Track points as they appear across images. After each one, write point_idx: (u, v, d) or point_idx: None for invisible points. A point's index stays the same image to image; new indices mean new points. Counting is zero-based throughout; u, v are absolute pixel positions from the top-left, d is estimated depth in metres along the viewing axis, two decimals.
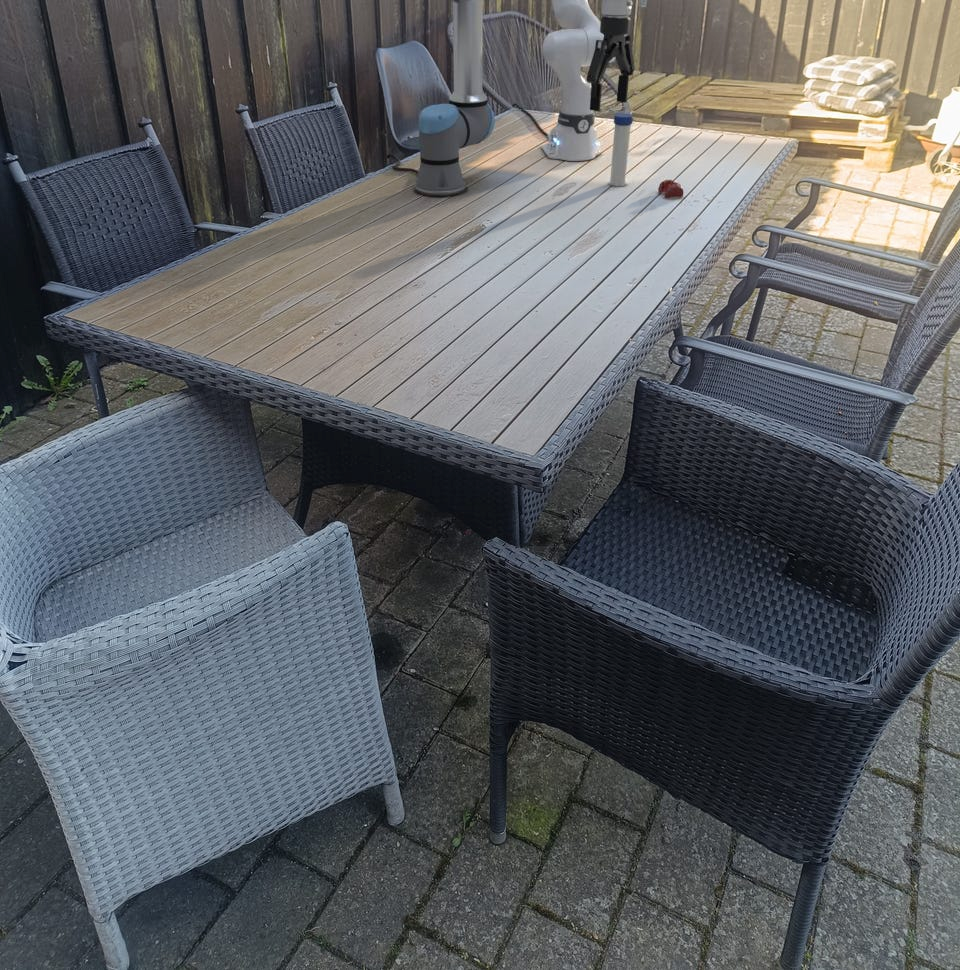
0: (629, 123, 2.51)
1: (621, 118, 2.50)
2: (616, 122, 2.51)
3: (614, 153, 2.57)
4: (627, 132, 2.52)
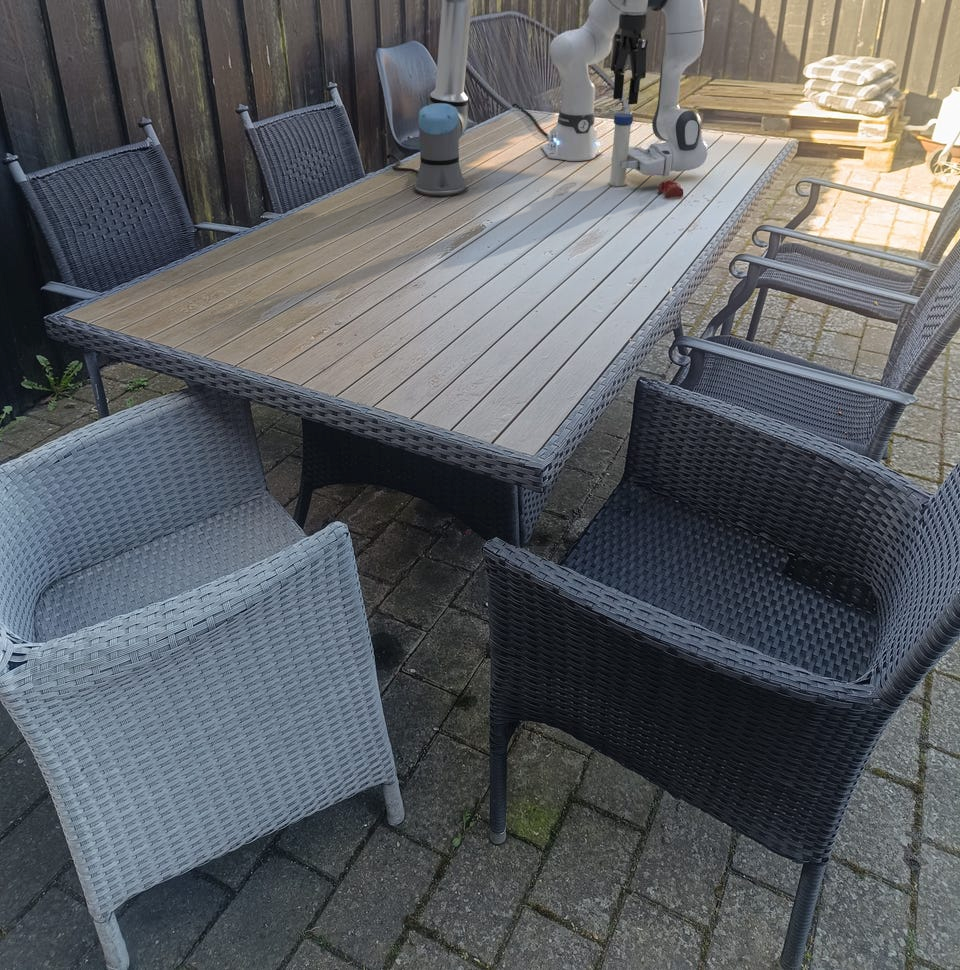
0: (629, 123, 2.51)
1: (621, 118, 2.50)
2: (616, 122, 2.51)
3: (614, 153, 2.57)
4: (627, 132, 2.52)
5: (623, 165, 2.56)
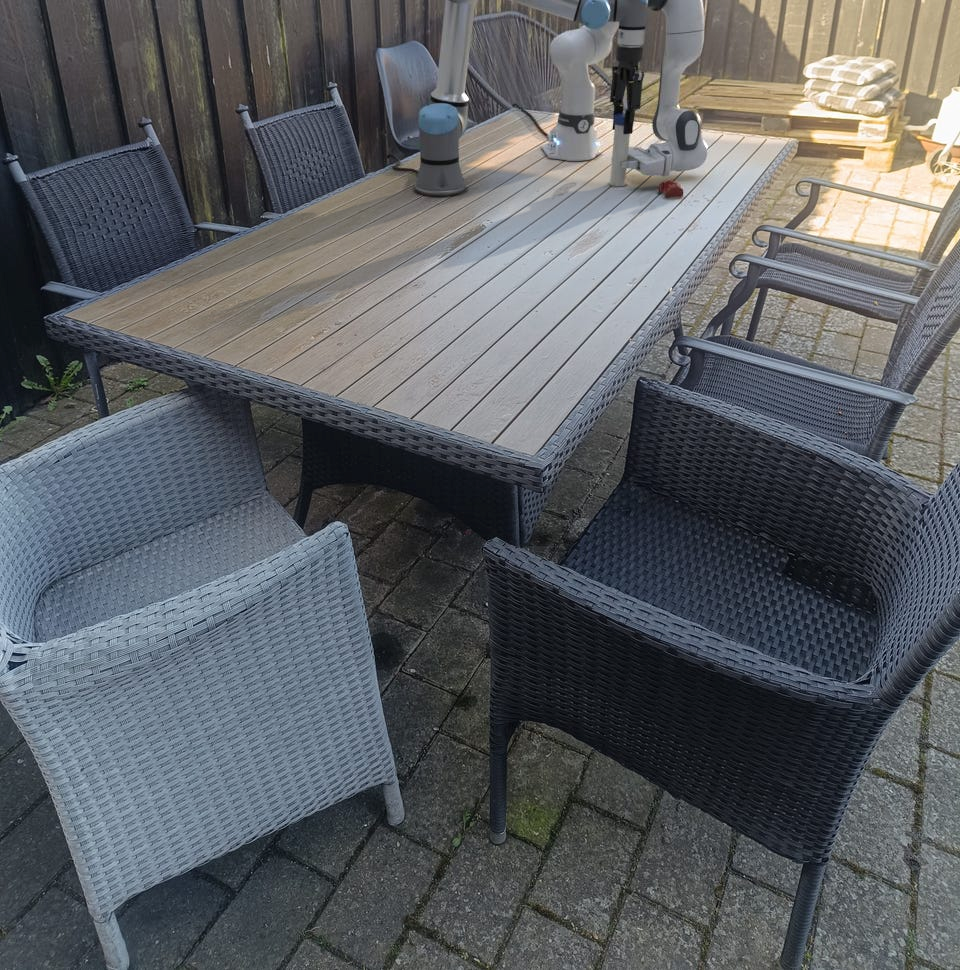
0: None
1: (621, 118, 2.50)
2: (616, 122, 2.51)
3: (614, 153, 2.57)
4: None
5: (623, 165, 2.56)
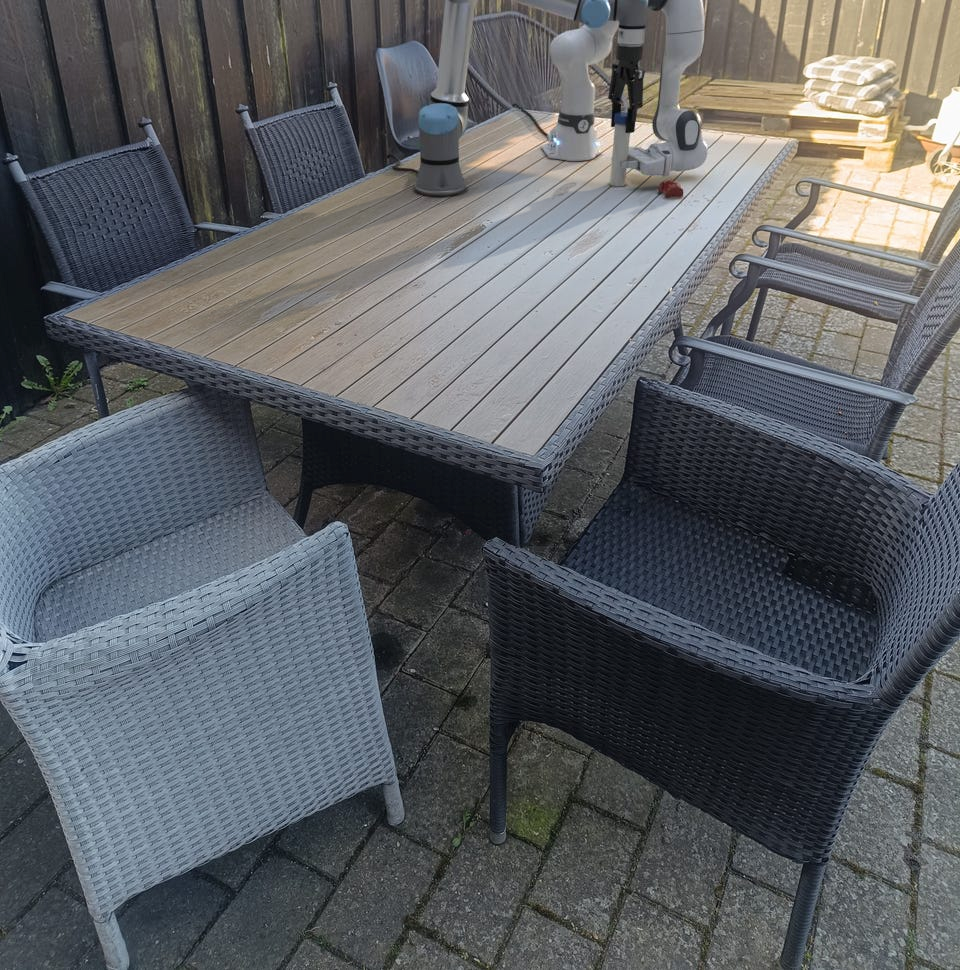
0: None
1: None
2: None
3: (614, 153, 2.57)
4: None
5: (623, 165, 2.56)
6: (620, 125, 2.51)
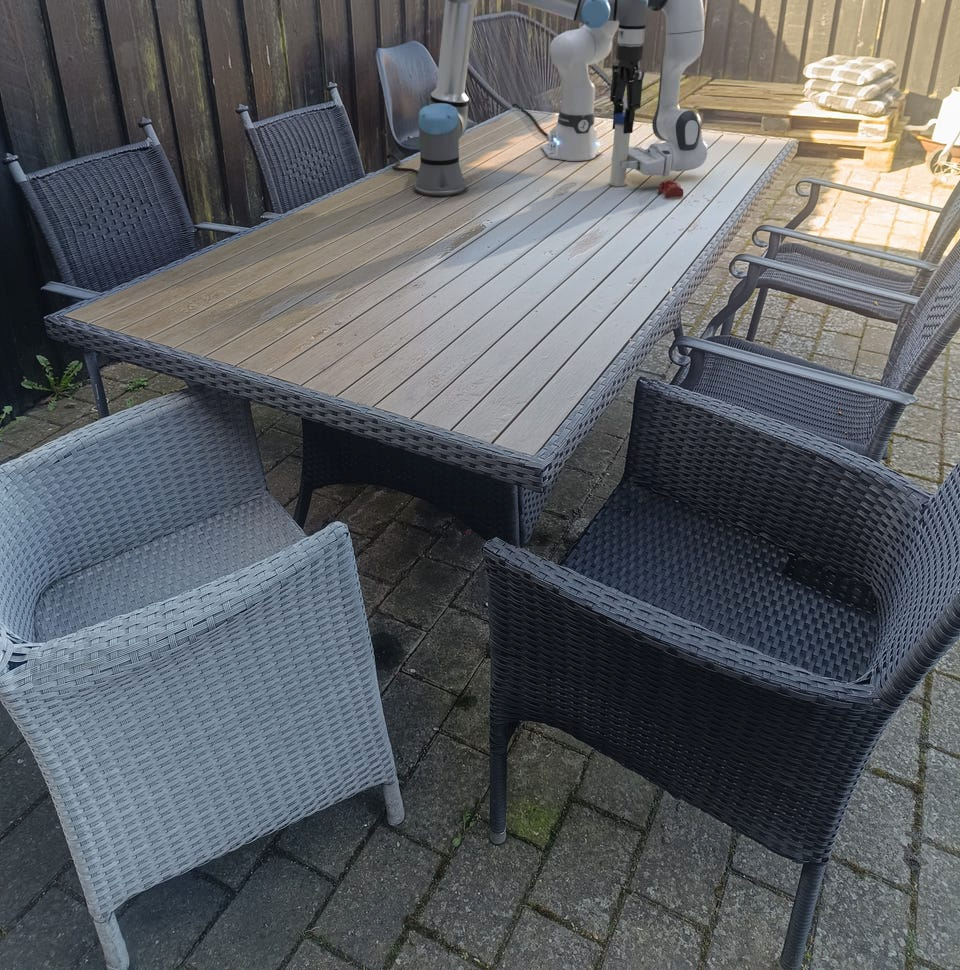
0: None
1: None
2: None
3: (614, 153, 2.57)
4: None
5: (623, 165, 2.56)
6: (620, 125, 2.51)
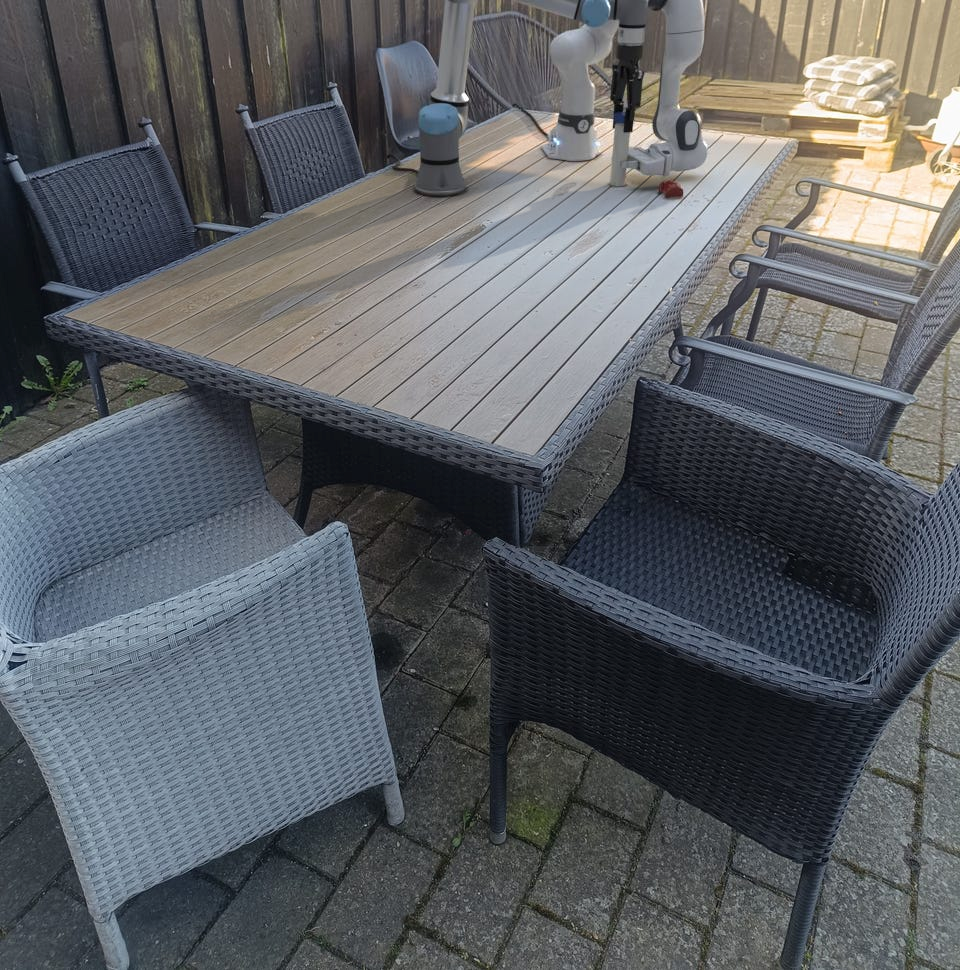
0: None
1: None
2: None
3: (614, 153, 2.57)
4: (627, 132, 2.52)
5: (623, 165, 2.56)
6: (620, 125, 2.51)
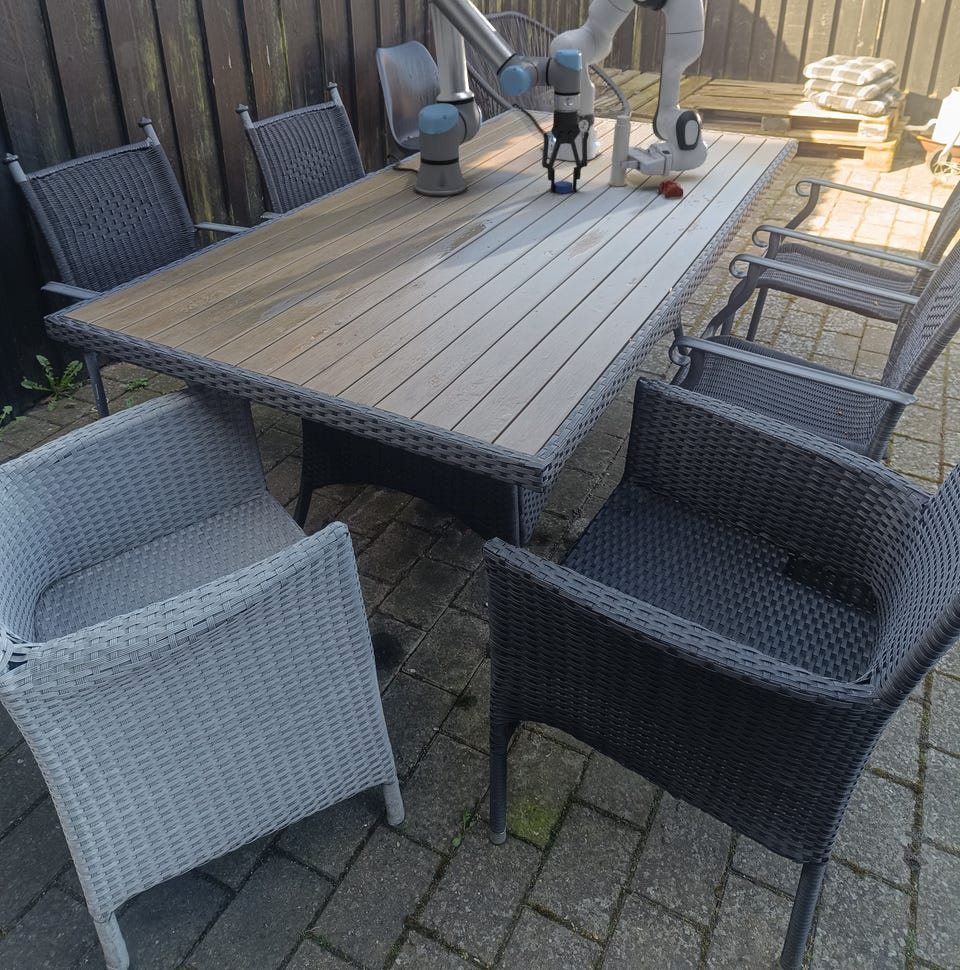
0: None
1: None
2: None
3: (614, 153, 2.57)
4: (627, 132, 2.52)
5: (623, 165, 2.56)
6: (620, 125, 2.51)
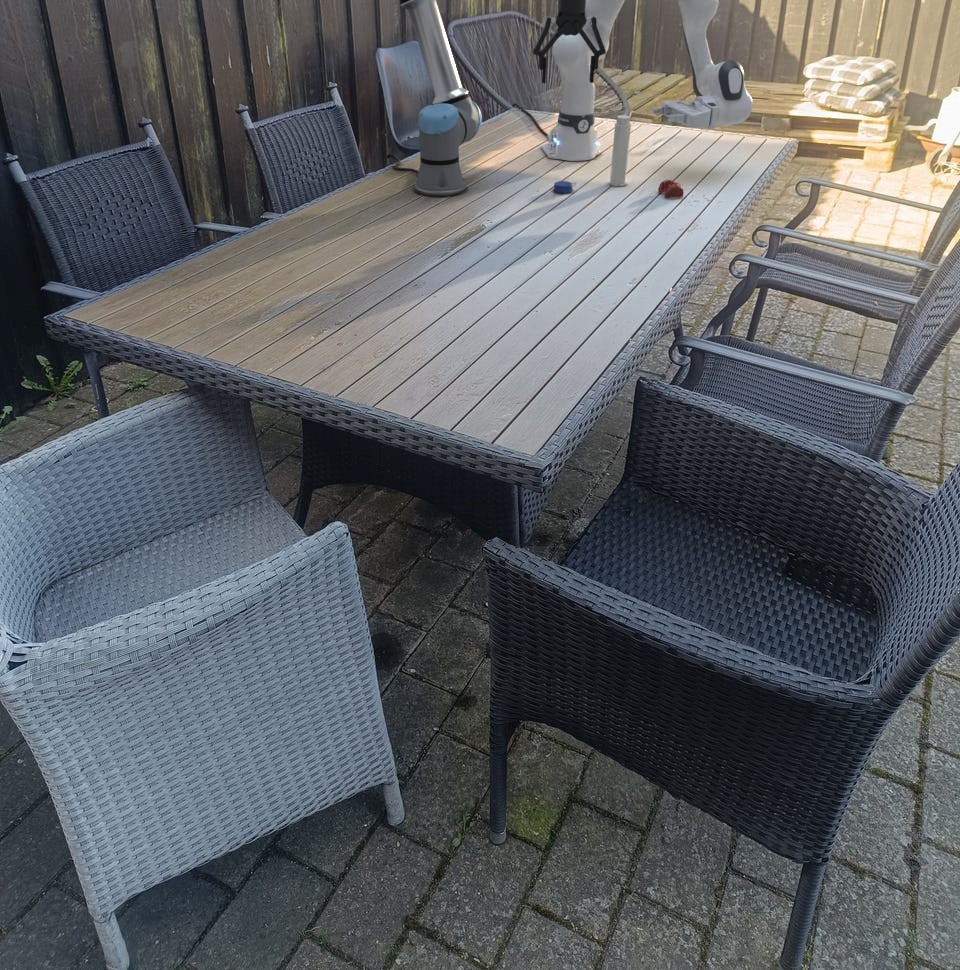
0: None
1: None
2: None
3: (614, 153, 2.57)
4: (627, 132, 2.52)
5: (671, 119, 2.51)
6: (620, 125, 2.51)
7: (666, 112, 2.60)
